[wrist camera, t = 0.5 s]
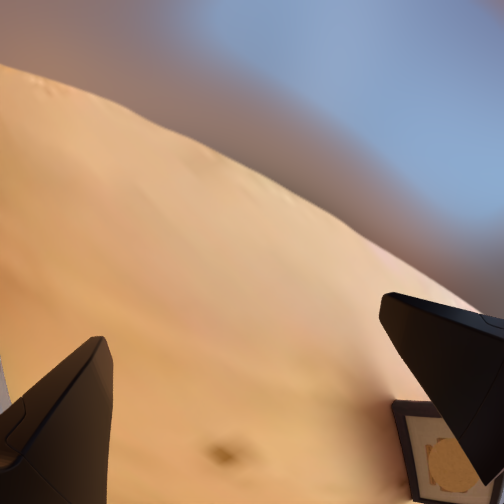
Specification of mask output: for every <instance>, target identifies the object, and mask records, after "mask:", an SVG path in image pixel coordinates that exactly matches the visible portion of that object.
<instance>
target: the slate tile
mask: <svg viewBox="0 0 504 504" xmlns="http://www.w3.org/2000/svg"><path fill="white" fill-rule="evenodd" d="M11 405H12V404H11V400H10V397H9V393H8V389H7V385H6V381H5V377H4V372H3V367H2V363H1V357H0V414H1V413H3V412H4V411H5V410H6V409H7V408H9V407H10V406H11Z"/></svg>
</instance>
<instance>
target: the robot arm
mask: <svg viewBox="0 0 504 504" xmlns="http://www.w3.org/2000/svg"><path fill="white" fill-rule="evenodd" d="M379 320H380V322H381V324H382V326H383V328H384V329H385V331H386V333H387V334H388V336H389V338H390V340H391V341H392V343H393V345H394V347H395V348H396V350H397V352H398V353H399V355H400V356H401V358H402V359H403V361H404V362H405V364H406V365H407V366H408V368H409V369H410V371H411V372H412V373H413V375H414V376H415V378H416V379H417V381H418V382H419V384H420V385H421V387H422V388H423V389H424V391H425V392H426V394H427V395H428V397H429V398H430V400H431V401H432V403H433V404H434V406H435V407H436V409H437V410H438V412H439V413H440V415H441V416H442V418H443V419H444V421H445V422H446V424H447V426H448V427H449V429H450V430H451V432H452V433H453V435H454V437H455V438H456V440H457V441H458V443H459V445H460V446H461V448H462V450H463V451H464V453H465V455H466V456H467V458H468V459H469V461H470V463H471V464H472V466H473V468H474V470H475V471H476V473H477V475H478V476H479V478H480V480H481V481H482V483H483V485H484V486H485V487H486V486H487V485H488V484H490V483H491V482H492V481H493V480H494V479H495V478H496V477H497V476H499V475H500V474H501V473H502V472H503V471H504V319H500V318H496V317H492V316H487V315H483V314H478V313H475V312H471V311H467V310H463V309H459V308H455V307H451V306H447V305H443V304H439V303H435V302H431V301H428V300H424V299H420V298H416V297H412V296H408V295H404V294H400V293H396V292H391V293H387V294H384V295H383V297H382V300H381V306H380V312H379ZM112 410H113V359H112V356H111V353H110V350H109V347H108V344H107V341H106V339H105V337H103V336H95V337H91V338H89V339H88V340H87V341H86V342H85V343H83V344H82V345H81V346H80V347H79V348H77V349H76V350H75V351H74V352H73V353H71V354H70V355H69V356H68V357H67V358H65V359H64V360H63V361H62V362H61V363H59V364H58V365H57V366H56V367H55V368H54V369H52V370H51V371H50V372H49V373H48V374H47V375H45V376H44V377H43V378H42V379H41V380H40V381H38V382H37V383H36V384H35V385H34V386H33V387H32V388H30V389H29V390H28V391H27V392H26V393H25V394H24V395H23V396H22V397H20V398H19V399H18V400H17V401H16V402H14V403H13V404H12V405H11V406H10V407H9V408H7V409H6V410H5V411H4V412H3V413H1V414H0V504H107V471H108V454H109V441H110V430H111V420H112ZM503 504H504V503H503Z"/></svg>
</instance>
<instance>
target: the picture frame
mask: <svg viewBox="0 0 504 504" xmlns="http://www.w3.org/2000/svg"><path fill="white" fill-rule="evenodd" d="M392 409H393V413H394V417H395V421H396V425H397V429H398V433H399V437H400V441H401V445H402V450H403V454H404V458H405V463H406V468H407V473H408V478H409V483H410V488H411V493H412V499H413V502H418V503H424V504H499V503H500V499H501V496H502V492H503V488H504V471H503V472H502V473H501V474H500V475H499V476H497V477H496V478H495V479H494V480H493V481H492V482H491V483H490V484H488V485H487V486H486V487H485V486H484V485H483V483H482V481H481V480H480V478H479V476H478V475H477V473H476V471H475V470H474V468H473V466H472V464H471V463H470V461H469V459H468V458H467V456H466V455H465V453H464V451H463V450H462V448H461V446H460V445H459V443H458V441H457V440H456V438H455V437H454V435H453V433H452V432H451V430H450V429H449V427H448V426H447V424H446V422H445V421H444V419H443V418H442V416H441V415H440V413H439V412H438V410H437V409H436V407H435V406H434V404H433V403H432V401H411V400H395V401H394V403H393V404H392Z"/></svg>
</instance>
